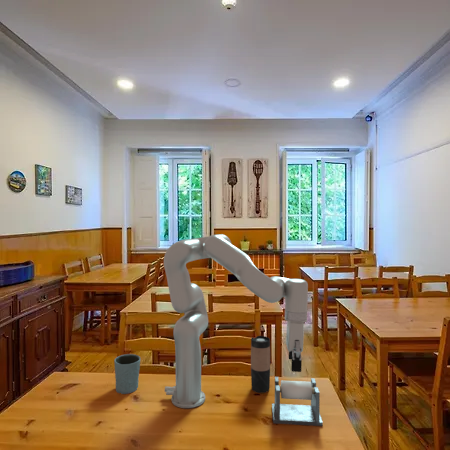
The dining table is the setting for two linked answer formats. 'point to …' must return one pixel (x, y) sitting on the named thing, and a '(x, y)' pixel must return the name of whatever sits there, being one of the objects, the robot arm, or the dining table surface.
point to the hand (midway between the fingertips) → (294, 365)
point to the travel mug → (260, 364)
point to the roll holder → (297, 409)
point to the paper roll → (296, 390)
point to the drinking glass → (127, 373)
